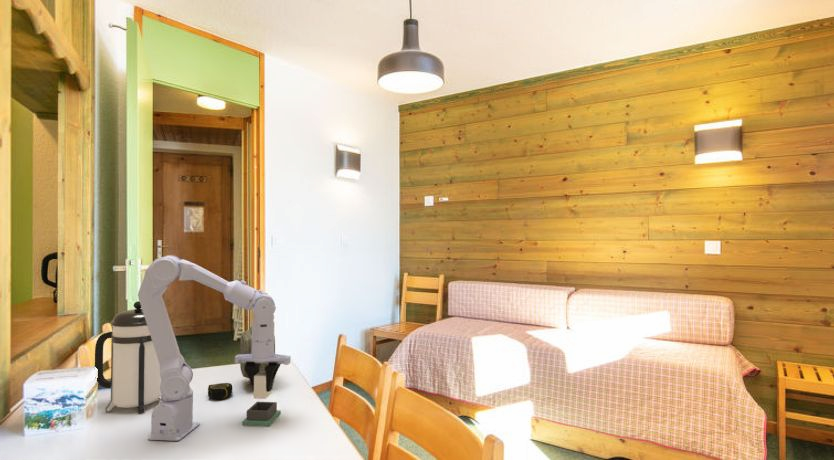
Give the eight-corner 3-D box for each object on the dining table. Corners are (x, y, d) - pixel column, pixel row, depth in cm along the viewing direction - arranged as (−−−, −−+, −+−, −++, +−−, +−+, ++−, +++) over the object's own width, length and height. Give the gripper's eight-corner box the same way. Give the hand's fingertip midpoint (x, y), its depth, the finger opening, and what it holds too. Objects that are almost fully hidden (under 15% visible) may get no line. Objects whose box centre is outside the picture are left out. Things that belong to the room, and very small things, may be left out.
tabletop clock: (274, 390, 141) (275, 311, 142) (244, 394, 137) (245, 313, 137) (267, 377, 154) (268, 304, 154) (239, 380, 150) (240, 306, 150)
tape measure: (232, 392, 140) (232, 380, 140) (232, 400, 134) (232, 387, 134) (207, 395, 137) (208, 383, 137) (207, 403, 131) (207, 390, 131)
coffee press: (162, 391, 139) (163, 295, 139) (170, 408, 126) (171, 302, 126) (94, 404, 129) (95, 300, 129) (94, 423, 116) (96, 308, 116)
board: (269, 426, 115) (269, 412, 115) (242, 425, 116) (242, 411, 116) (280, 413, 123) (280, 401, 123) (255, 412, 124) (255, 400, 124)
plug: (265, 398, 118) (265, 373, 118) (253, 398, 118) (254, 373, 118) (271, 393, 122) (271, 369, 122) (260, 393, 122) (260, 368, 122)
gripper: (294, 336, 123) (293, 385, 123) (243, 335, 124) (242, 384, 124) (285, 343, 116) (284, 395, 116) (231, 341, 117) (230, 393, 117)
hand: (262, 390), depth 120 cm, fingers closed on plug, 3 cm apart
